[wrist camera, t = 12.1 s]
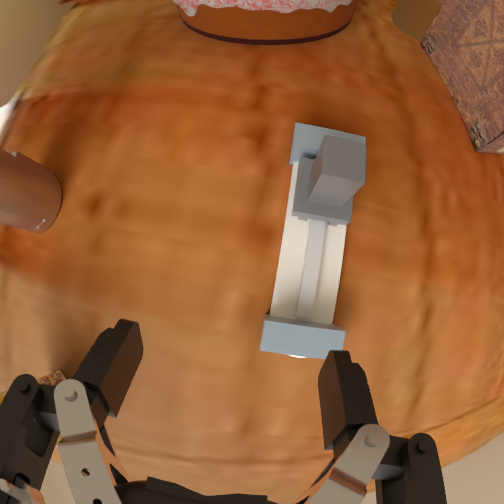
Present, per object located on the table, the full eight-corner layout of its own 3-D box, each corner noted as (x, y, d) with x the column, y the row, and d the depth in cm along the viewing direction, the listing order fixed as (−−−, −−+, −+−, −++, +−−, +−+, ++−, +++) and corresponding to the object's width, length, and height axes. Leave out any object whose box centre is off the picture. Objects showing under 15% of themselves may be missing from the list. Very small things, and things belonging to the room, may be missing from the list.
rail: (327, 352, 30) (338, 365, 25) (259, 343, 30) (258, 355, 25) (353, 151, 32) (365, 133, 27) (292, 139, 33) (295, 118, 28)
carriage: (342, 227, 30) (379, 201, 19) (290, 218, 30) (302, 186, 20) (347, 178, 30) (379, 135, 20) (297, 168, 31) (310, 119, 20)
